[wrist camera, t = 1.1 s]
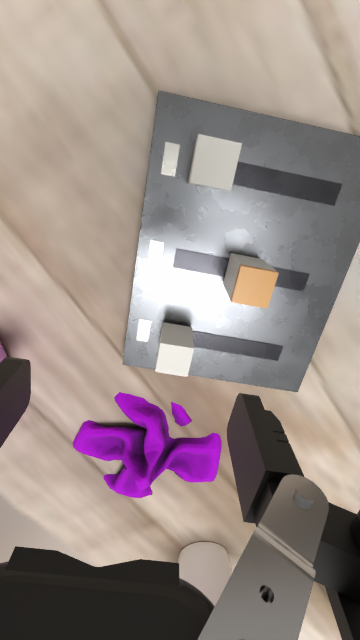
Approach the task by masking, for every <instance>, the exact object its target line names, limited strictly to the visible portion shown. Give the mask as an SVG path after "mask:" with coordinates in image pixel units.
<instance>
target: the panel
mask: <svg viewBox="0 0 360 640" xmlns="http://www.w3.org/2000/svg"><path fill="white" fill-rule="evenodd" d="M198 134H202V135H206V136H211V137H215V138H220V139H224V140H229V141H233V142H238V143H242V146H241V150H240V155H239V159H238V163H237V167H236V172H235V176H234V180H233V184H232V189H231V191H224V190H218V189H213V188H208V187H204V186H199V185H194V184H189V183H188V181H189V176H190V170H191V165H192V159H193V154H194V148H195V143H196V140H197V137H198ZM359 242H360V136H356V135H351V134H347V133H343V132H338V131H334V130H329V129H325V128H321V127H316V126H312V125H307V124H303V123H299V122H294V121H290V120H286V119H281V118H277V117H272V116H268V115H264V114H259V113H255V112H251V111H246V110H242V109H237V108H233V107H229V106H224V105H220V104H215V103H211V102H207V101H202V100H198V99H194V98H189V97H185V96H180V95H176V94H172V93H167V92H163V91H159V92H158V99H157V107H156V114H155V122H154V130H153V137H152V145H151V152H150V160H149V167H148V175H147V183H146V190H145V198H144V205H143V213H142V221H141V228H140V236H139V243H138V251H137V258H136V266H135V274H134V281H133V289H132V296H131V304H130V311H129V319H128V327H127V334H126V342H125V349H124V357H123V365H129V366H135V367H141V368H148V369H154V370H155V369H156V361H157V354H158V347H159V341H160V336H161V330H162V325H163V322H164V323H170V324H176V325H182V326H188V327H192V332H193V342H194V351H193V355H192V360H191V364H190V368H189V372H188V375H192V376H198V377H204V378H211V379H217V380H223V381H230V382H236V383H242V384H249V385H255V386H261V387H268V388H274V389H280V390H286V391H293V392H298V390H299V387H300V385H301V382H302V380H303V378H304V375H305V373H306V370H307V368H308V365H309V363H310V361H311V358H312V356H313V353H314V351H315V348H316V346H317V344H318V341H319V339H320V336H321V334H322V331H323V329H324V327H325V324H326V322H327V319H328V317H329V315H330V312H331V310H332V307H333V305H334V302H335V300H336V298H337V295H338V293H339V290H340V288H341V285H342V283H343V281H344V278H345V276H346V273H347V271H348V268H349V266H350V264H351V261H352V259H353V256H354V254H355V252H356V249H357V247H358V244H359ZM231 253H234V254H239V255H244V256H249V257H254V258H260V259H263V260H264V261H265V262H266V263H268V264H269V265H270V266H271V267H272V268H274V269H275V270H276V271H277V272H278V273H279V274H278V277H277V280H276V283H275V287H274V290H273V293H272V296H271V299H270V302H269V305H268V308H267V309H266V308H261V307H255V306H250V305H244V304H239V303H233V302H231V300H230V298H229V296H228V294H227V291H226V289H225V287H224V285H223V282H224V278H225V274H226V270H227V266H228V262H229V259H230V255H231Z"/></svg>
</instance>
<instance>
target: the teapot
mask: <svg viewBox="0 0 360 640" xmlns="http://www.w3.org/2000/svg"><path fill="white" fill-rule="evenodd" d="M5 357H7V355H6V353H5V351H4V349H3V346H2V344H1V342H0V362H1V361H2V360H3V359H4V358H5Z"/></svg>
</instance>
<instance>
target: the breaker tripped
mask: <svg viewBox="0 0 360 640" xmlns="http://www.w3.org/2000/svg"><path fill="white" fill-rule="evenodd" d="M278 274H279V273H278V272H277V271H276V270H275V269H274V268H272V267H271V266H270V265H269V264H268V263H266V262H265V261H264V260H263V259H260V258H254V257H249V256H244V255H239V254H234V253H231V255H230V259H229V262H228V266H227V270H226V274H225V278H224V282H223V285H224V287H225V289H226V291H227V294H228V296H229V298H230V300H231V302H233V303H239V304H244V305H250V306H255V307H261V308H266V309H267V308H268V305H269V302H270V299H271V296H272V293H273V290H274V287H275V283H276V280H277V277H278Z"/></svg>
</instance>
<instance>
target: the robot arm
mask: <svg viewBox="0 0 360 640" xmlns="http://www.w3.org/2000/svg"><path fill="white" fill-rule="evenodd" d="M30 395H31V366H30V361H29V360H26V359H20V358H13V357H5V358H4V359H3V360H2V361H1V362H0V448H1V446H2V445H3V443H4V442H5V440H6V439H7V437H8V436H9V434H10V433H11V431H12V430H13V428H14V427H15V425H16V424H17V422H18V421H19V419H20V418H21V416H22V415H23V413H24V412H25V410H26V408H27V406H28V404H29V400H30ZM284 433H285V432H284V429H283V427H282V425H281V423H280V421H279V420H278V419H277V417H276V416H275V415H274V414H273V413H272V412H271V411H267V410H264V407H263V405H262V402H261V399H260V397H259V396H255V395H249V394H242V393H239V394H238V396H237V398H236V401H235V404H234V407H233V410H232V413H231V416H230V419H229V423H228V427H227V441H228V446H229V451H230V456H231V461H232V466H233V471H234V476H235V481H236V486H237V491H238V496H239V501H240V506H241V511H242V516H243V521H244V522H248V523H256V529H255V530H254V532H253V534H252V536H251V538H250V540H249V542H248V544H247V546H246V548H245V550H244V552H243V553H242V555H241V557H240V559H239V561H238V563H237V565H236V567H235V569H234V571H233V573H232V575H231V576H230V578H229V580H228V582H227V584H226V586H225V588H224V590H223V592H222V594H221V596H220V598H219V599H218V601H217V603H216V605H215V606H214V605H213V603H212V602H211V601H210V600H209V599H208V598H207V597H206V596H205V595H204V594H203V593H202V592H201V591H200V590H198V589H197V588H196V587H195V586H193V585H192V584H190V583H188V582H187V581H185V580H183V579H181V578H179V563H171V562H162V561H152V560H142V559H140V560H134V561H129V562H124V563H119V564H114V565H109V566H103V567H94V566H91V565H89V564H87V563H84V562H82V561H80V560H77V559H75V558H73V557H70V556H68V555H66V554H63V553H61V552H59V551H55V550H44V549H35V548H24V547H15V549H14V551H13V553H12V556H11V558H10V560H9V562H4V563H0V640H298V637H299V633H300V630H301V626H302V622H303V619H304V615H305V611H306V608H307V604H308V600H309V597H310V593H311V590H312V586H313V582H314V581H316V582H318V583H320V584H322V585H324V586H325V588H326V591H327V594H328V597H329V600H330V603H331V606H332V610H333V613H334V616H335V619H336V622H337V625H338V628H339V631H340V634H341V637H342V640H360V510H359V512H358V514H355V513H352V512H350V511H347V510H345V509H343V508H340V507H338V506H335V505H333V504H331V503H329V502H328V500H327V498H326V496H325V495H324V493H323V492H322V490H321V489H320V488H319V487H318V486H317V485H316V484H315V483H313V482H312V481H310V480H309V479H307V478H305V477H304V475H303V473H302V471H301V468H300V466H299V464H298V461H297V459H296V457H295V455H294V452H293V450H292V448H291V445H290V444H289V443H288V442H289V441H288V439H287V436H286V434H284Z"/></svg>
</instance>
